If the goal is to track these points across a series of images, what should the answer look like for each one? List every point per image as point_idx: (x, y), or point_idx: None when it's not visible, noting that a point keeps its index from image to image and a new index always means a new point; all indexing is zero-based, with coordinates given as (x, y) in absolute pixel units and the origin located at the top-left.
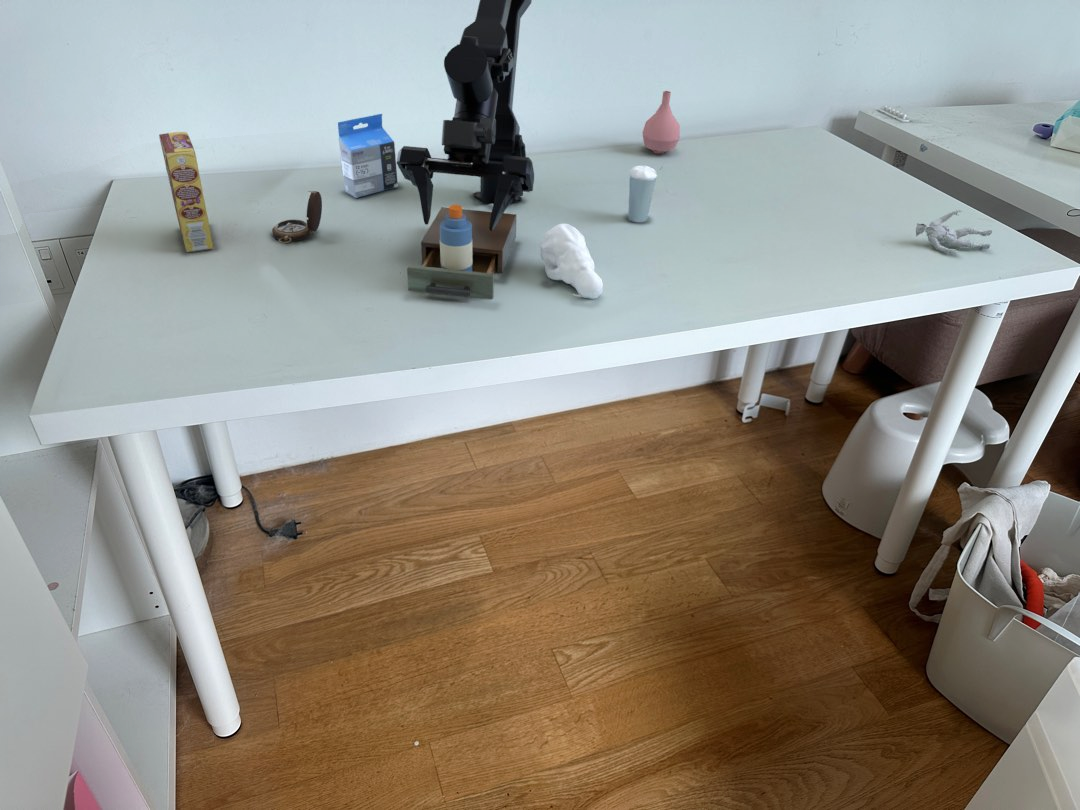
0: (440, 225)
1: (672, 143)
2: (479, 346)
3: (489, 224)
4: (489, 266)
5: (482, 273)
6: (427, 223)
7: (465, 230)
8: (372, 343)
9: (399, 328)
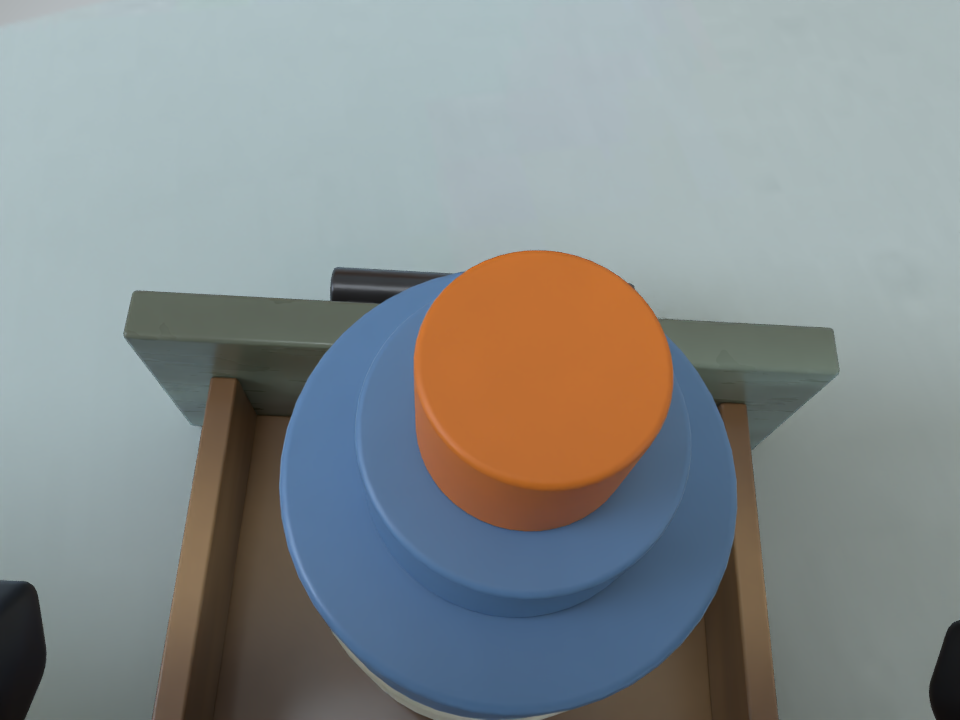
0: (709, 405)
1: None
2: (259, 41)
3: (7, 604)
4: (188, 657)
5: (219, 321)
6: (936, 665)
7: (352, 326)
8: (751, 17)
9: (678, 132)
